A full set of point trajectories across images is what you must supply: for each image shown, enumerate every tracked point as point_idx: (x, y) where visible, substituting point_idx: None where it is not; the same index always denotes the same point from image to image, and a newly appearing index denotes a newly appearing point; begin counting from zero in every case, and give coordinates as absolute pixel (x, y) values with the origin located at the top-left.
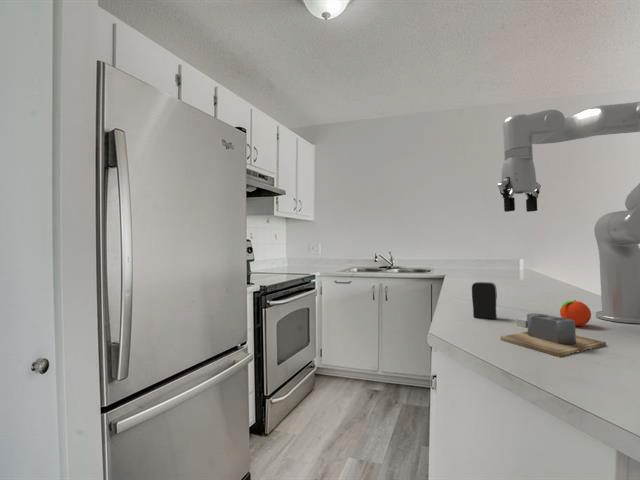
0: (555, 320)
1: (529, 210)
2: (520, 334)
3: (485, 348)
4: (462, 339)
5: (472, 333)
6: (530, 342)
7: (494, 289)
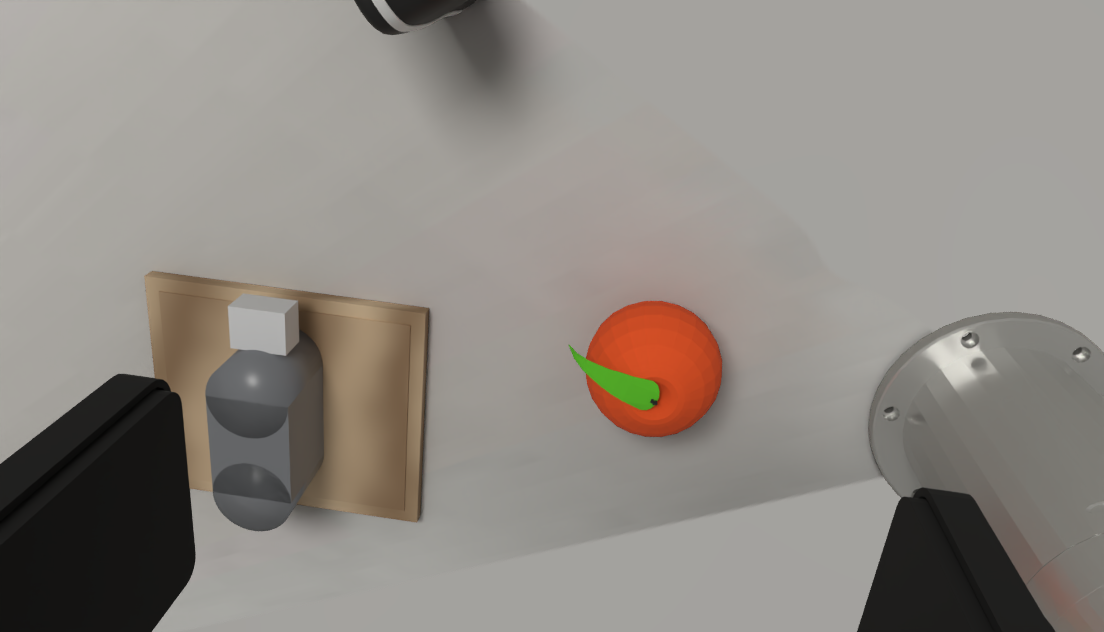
0: (223, 484)
1: (882, 564)
2: None
3: (20, 300)
4: (12, 172)
5: (116, 134)
6: (177, 387)
7: (388, 34)
